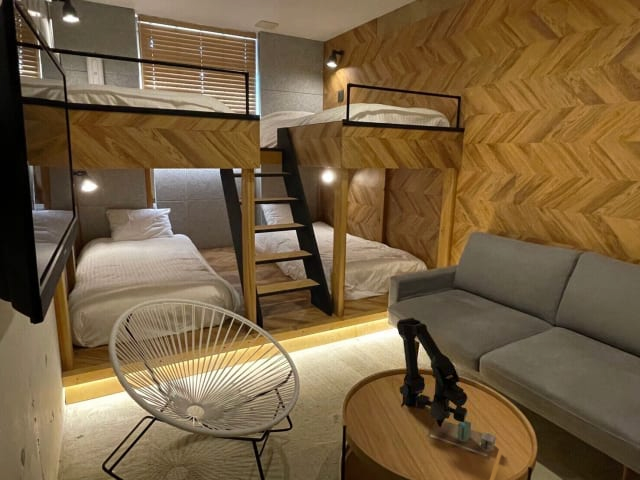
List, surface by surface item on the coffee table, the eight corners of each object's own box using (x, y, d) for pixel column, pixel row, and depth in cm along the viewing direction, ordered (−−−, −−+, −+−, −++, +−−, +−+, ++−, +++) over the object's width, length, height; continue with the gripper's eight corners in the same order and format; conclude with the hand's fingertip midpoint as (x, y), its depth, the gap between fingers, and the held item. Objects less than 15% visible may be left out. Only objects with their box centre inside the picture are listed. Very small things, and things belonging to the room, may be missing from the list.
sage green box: (456, 438, 165) (457, 425, 164) (459, 432, 169) (460, 418, 167) (467, 442, 163) (468, 428, 162) (470, 435, 167) (471, 422, 165)
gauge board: (426, 439, 168) (427, 428, 166) (436, 420, 178) (437, 409, 177) (490, 462, 156) (491, 450, 154) (497, 440, 166) (498, 429, 165)
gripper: (411, 395, 165) (410, 430, 169) (461, 411, 155) (458, 447, 160) (421, 380, 174) (419, 414, 178) (469, 394, 165) (466, 429, 169)
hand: (439, 426), depth 171 cm, fingers closed
